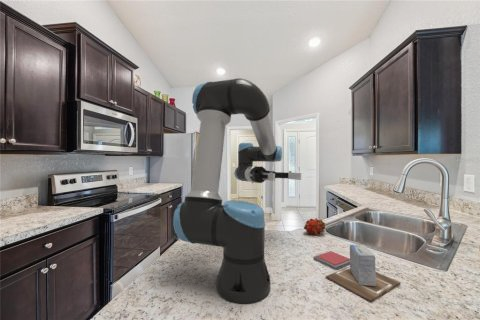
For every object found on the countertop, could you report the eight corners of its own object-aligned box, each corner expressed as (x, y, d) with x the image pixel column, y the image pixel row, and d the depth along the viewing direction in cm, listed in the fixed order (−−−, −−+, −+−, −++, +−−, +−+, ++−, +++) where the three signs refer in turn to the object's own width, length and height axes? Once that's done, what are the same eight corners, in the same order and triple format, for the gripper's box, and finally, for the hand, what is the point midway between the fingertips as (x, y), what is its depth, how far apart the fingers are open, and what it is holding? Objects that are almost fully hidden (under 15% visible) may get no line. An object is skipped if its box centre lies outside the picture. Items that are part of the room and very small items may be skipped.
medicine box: (376, 287, 58) (376, 255, 58) (358, 285, 58) (358, 254, 59) (365, 272, 65) (364, 245, 66) (349, 271, 66) (349, 243, 66)
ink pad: (335, 270, 68) (335, 266, 68) (313, 259, 76) (313, 255, 76) (353, 263, 73) (353, 259, 73) (330, 253, 81) (330, 250, 81)
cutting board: (370, 302, 52) (370, 299, 52) (326, 278, 63) (326, 275, 63) (400, 284, 60) (400, 281, 60) (356, 265, 72) (356, 263, 72)
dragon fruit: (327, 237, 104) (305, 242, 102) (318, 223, 111) (297, 227, 109) (332, 226, 99) (309, 231, 97) (322, 212, 106) (300, 217, 104)
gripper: (276, 181, 104) (310, 185, 86) (232, 183, 92) (261, 188, 73) (276, 166, 104) (310, 167, 86) (232, 166, 92) (261, 166, 74)
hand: (288, 176), depth 80 cm, fingers open, 13 cm apart
